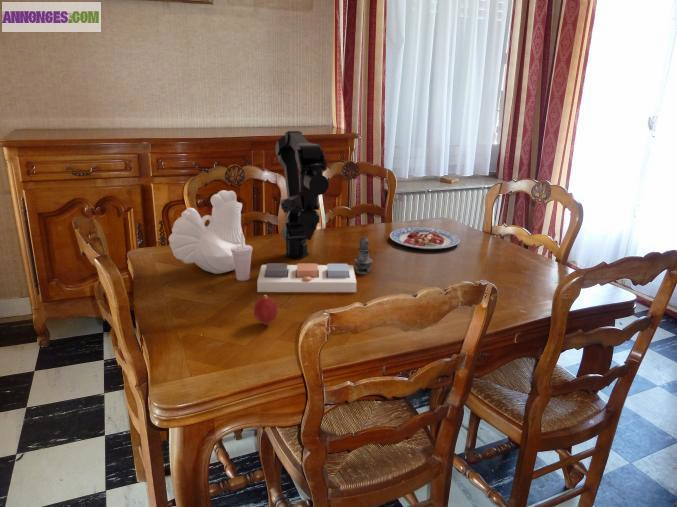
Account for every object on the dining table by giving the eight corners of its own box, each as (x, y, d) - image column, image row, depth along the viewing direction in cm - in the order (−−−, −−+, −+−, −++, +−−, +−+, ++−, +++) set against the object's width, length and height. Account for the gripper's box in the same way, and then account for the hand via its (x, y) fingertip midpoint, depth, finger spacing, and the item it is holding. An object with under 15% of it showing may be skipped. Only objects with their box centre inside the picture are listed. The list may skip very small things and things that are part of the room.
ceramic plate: (391, 230, 210) (391, 223, 209) (456, 235, 206) (457, 227, 205) (387, 251, 185) (388, 242, 184) (461, 256, 182) (462, 247, 181)
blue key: (327, 280, 152) (328, 270, 151) (327, 272, 158) (327, 263, 157) (348, 280, 152) (348, 270, 151) (347, 273, 158) (347, 263, 157)
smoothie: (257, 276, 159) (256, 232, 155) (247, 283, 154) (245, 238, 149) (238, 273, 161) (236, 229, 157) (228, 280, 155) (225, 235, 151)
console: (257, 291, 148) (257, 280, 147) (262, 274, 161) (261, 263, 160) (356, 292, 149) (356, 280, 148) (352, 274, 162) (353, 263, 161)
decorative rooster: (235, 256, 176) (232, 183, 168) (256, 270, 164) (254, 192, 156) (160, 270, 162) (153, 191, 154) (178, 287, 150) (170, 202, 142)
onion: (255, 319, 131) (254, 290, 129) (278, 318, 132) (277, 289, 129) (253, 330, 126) (252, 299, 123) (277, 329, 127) (276, 299, 124)
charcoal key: (265, 280, 151) (265, 270, 150) (267, 272, 157) (267, 263, 156) (286, 280, 151) (286, 270, 150) (287, 272, 157) (287, 263, 156)
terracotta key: (296, 280, 151) (296, 270, 150) (297, 272, 157) (297, 263, 156) (317, 280, 152) (317, 270, 151) (317, 272, 157) (317, 263, 156)
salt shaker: (371, 275, 162) (372, 238, 158) (352, 273, 163) (353, 236, 159) (373, 268, 168) (375, 233, 164) (355, 267, 169) (356, 231, 165)
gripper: (283, 181, 164) (284, 229, 169) (279, 194, 146) (280, 247, 151) (319, 181, 164) (318, 229, 169) (319, 194, 147) (319, 247, 152)
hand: (308, 237), depth 160 cm, fingers open, 4 cm apart
